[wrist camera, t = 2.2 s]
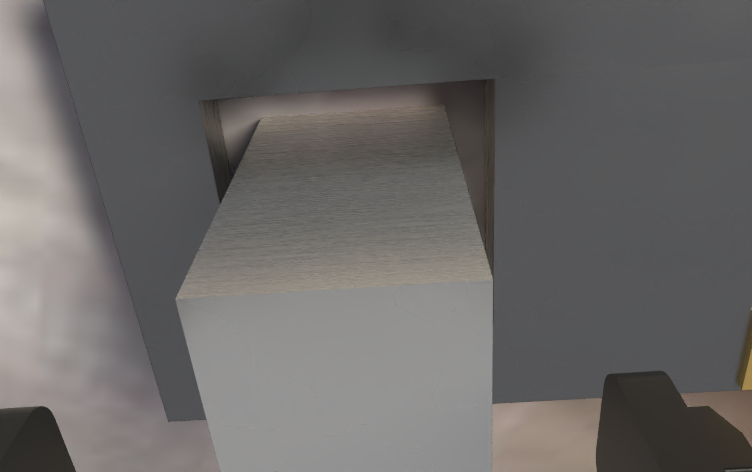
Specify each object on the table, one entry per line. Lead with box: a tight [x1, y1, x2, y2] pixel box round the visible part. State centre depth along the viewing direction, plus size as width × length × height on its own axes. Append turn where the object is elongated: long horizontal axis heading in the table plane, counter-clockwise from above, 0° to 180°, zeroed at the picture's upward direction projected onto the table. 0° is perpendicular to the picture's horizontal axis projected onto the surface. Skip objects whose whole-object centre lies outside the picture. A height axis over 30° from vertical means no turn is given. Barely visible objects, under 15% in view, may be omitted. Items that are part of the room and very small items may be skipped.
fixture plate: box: [43, 0, 752, 422], centre depth 17 cm, size 26×12×2 cm, turn 94°
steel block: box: [175, 105, 493, 472], centre depth 14 cm, size 4×4×8 cm
